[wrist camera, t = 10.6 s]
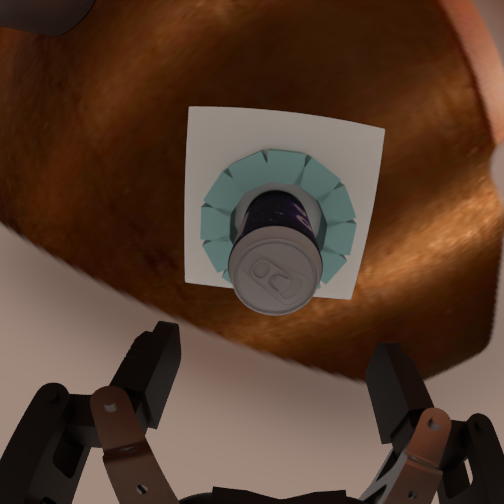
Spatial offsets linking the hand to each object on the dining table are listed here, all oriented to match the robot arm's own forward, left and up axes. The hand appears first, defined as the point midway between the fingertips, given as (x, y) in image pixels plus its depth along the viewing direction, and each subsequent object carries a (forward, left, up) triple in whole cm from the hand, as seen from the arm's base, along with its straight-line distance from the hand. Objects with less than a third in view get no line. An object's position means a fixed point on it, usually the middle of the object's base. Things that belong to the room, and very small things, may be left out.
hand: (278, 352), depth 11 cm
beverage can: (0, 0, -18) cm, 18 cm away
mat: (0, +1, -19) cm, 19 cm away
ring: (0, 0, -18) cm, 18 cm away
